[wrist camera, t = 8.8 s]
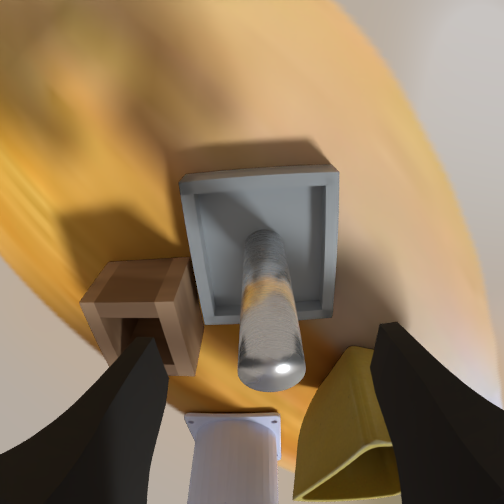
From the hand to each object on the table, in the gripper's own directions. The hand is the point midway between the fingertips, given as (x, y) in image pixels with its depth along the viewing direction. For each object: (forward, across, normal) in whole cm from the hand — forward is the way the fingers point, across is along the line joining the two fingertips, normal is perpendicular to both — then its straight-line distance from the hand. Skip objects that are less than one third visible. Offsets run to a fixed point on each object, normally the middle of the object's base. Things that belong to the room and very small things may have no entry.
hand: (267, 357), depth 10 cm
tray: (+8, 0, 0) cm, 8 cm away
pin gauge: (+7, 0, 0) cm, 7 cm away
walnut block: (+8, +6, +3) cm, 11 cm away
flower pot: (+8, -6, +11) cm, 15 cm away
